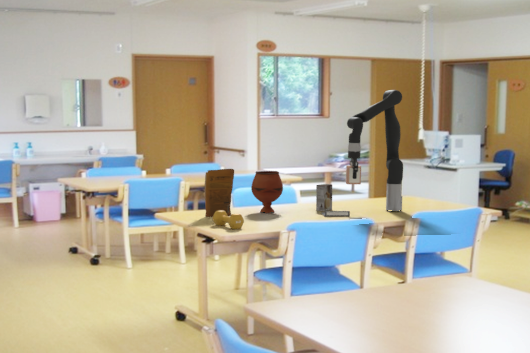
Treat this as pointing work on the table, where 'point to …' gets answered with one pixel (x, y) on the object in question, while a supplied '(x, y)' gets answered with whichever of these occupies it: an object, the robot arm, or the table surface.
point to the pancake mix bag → (218, 191)
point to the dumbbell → (228, 219)
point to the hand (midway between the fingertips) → (353, 178)
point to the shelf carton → (350, 175)
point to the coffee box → (324, 197)
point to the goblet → (267, 188)
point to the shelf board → (336, 213)
